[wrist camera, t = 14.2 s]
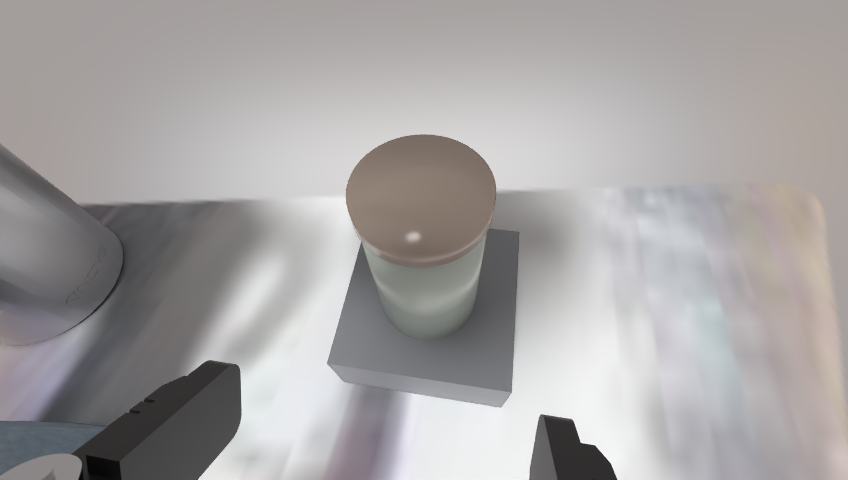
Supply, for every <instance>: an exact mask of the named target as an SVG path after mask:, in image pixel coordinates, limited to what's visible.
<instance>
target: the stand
mask: <svg viewBox="0 0 848 480" xmlns="http://www.w3.org/2000/svg"><path fill="white" fill-rule="evenodd" d="M518 247H519V232H513V231H504V230H496V229H488V231H487V234H486V240H485V246H484V252H483V258H482V264H481V270H480V275H479V281H478V287H477V293H476V299H475V305H474V309H473V312H472V314H471V316H470V318H469V319H468V321H467V322H466V323H465V324H464V325H463V327H461V328H460V329H459V330H458V331H456V332H455V333H453V334H452V335H449V336H447V337H444V338H441V339H436V340H420V339H415V338H412V337H409V336H407V335H405V334H403V333H402V332H400V331H399V330H397V329H396V328H395V327H394V326H393V325H392V323H391V322H390V321H389V319H388V318H387V316H386V314H385V311H384V309H383V305H382V302H381V299H380V296H379V293H378V290H377V287H376V284H375V281H374V278H373V275H372V272H371V269H370V266H369V263H368V260H367V257H366V254H365V251H364V248H363V245H362V242H361V245H360V249H359V252H358V256H357V259H356V263H355V266H354V270H353V274H352V277H351V281H350V284H349V288H348V291H347V295H346V298H345V302H344V305H343V309H342V312H341V316H340V319H339V323H338V327H337V330H336V334H335V337H334V341H333V344H332V348H331V351H330V355H329V358H328V362H327V364H328V365H329V366H330V367H331V368H332V369H333V371H334V372H335V373H336V374H337V375H338V376H339V377H340V378H341V379H342V380H343V381H344V382H348V383H354V384H360V385H366V386H372V387H378V388H385V389H391V390H397V391H403V392H409V393H415V394H421V395H428V396H434V397H440V398H446V399H452V400H458V401H464V402H471V403H477V404H483V405H489V406H495V407H502V406H503V404H504V403H505V401H506V400H507V398H508V397H509V396H510V394H511V393H512V373H513V352H514V331H515V310H516V289H517V268H518Z"/></svg>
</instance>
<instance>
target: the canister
mask: <svg viewBox="0 0 848 480" xmlns="http://www.w3.org/2000/svg"><path fill="white" fill-rule="evenodd" d="M495 199H496V185H495V180H494V177H493V174H492V171H491V170H490V168H489V166H488V164H487V163H486V162H485V160H484V159H483V158H482V157H481V156H480V155H479V154H478V153H477V152H475V151H474V150H473V149H471V148H470V147H468V146H467V145H465V144H463V143H461V142H458V141H456V140H453V139H450V138H447V137H442V136H436V135H411V136H405V137H401V138H397V139H394V140H391V141H388V142H386V143H384V144H382V145H380V146H378V147H377V148H375V149H373V150H372V151H371V152H369V153H368V154H367V155H366V156H365V157H363V158H362V159H361V160H360V162H359V163H358V164H357V165H356V167H355V168H354V170H353V172H352V174H351V176H350V178H349V180H348V184H347V188H346V204H347V208H348V212H349V215H350V217H351V220H352V223H353V226H354V229H355V231H356V233H357V235H358V237H359V239H360V240H361V242H362V245H363V248H364V251H365V254H366V257H367V260H368V263H369V266H370V269H371V272H372V275H373V278H374V281H375V284H376V287H377V290H378V293H379V296H380V299H381V302H382V305H383V309H384V311H385V314H386V316H387V318H388V319H389V321H390V322H391V323H392V325H393V326H394V327H395V328H396V329H397V330H399V331H400V332H402V333H403V334H405V335H407V336H409V337H412V338H415V339H420V340H436V339H441V338H444V337H447V336H449V335H452V334H453V333H455V332H456V331H458V330H459V329H460V328H461V327H463V325H464V324H465V323H466V322H467V321H468V319H469V318H470V316H471V314H472V312H473V309H474V305H475V299H476V293H477V287H478V281H479V275H480V270H481V264H482V258H483V252H484V246H485V240H486V234H487V231H488V229H489V227H490V224H491V221H492V216H493V210H494V205H495Z"/></svg>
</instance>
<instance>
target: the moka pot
mask: <svg viewBox="0 0 848 480" xmlns="http://www.w3.org/2000/svg"><path fill="white" fill-rule="evenodd" d="M105 428H106V426H95V425H85V424H78V423H68V422H32V421H0V476H1V475H2V474H4V473H5V472H7V471H9V470H10V469H12V468H14V467H16V466H18V465H20V464H22V463H25V462H27V461H29V460H32V459H35V458H38V457H42V456H46V455H51V454H72V453H73V452H74V451H76V450H77V449H78V448H80V447H81V446H82V445H84V444H85V443H86V442H88V441H89V440H90V439H92V438H93V437H94V436H96V435H97V434H98V433H100V432H101V431H102V430H104V429H105Z"/></svg>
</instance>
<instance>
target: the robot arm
mask: <svg viewBox="0 0 848 480" xmlns="http://www.w3.org/2000/svg"><path fill="white" fill-rule="evenodd" d="M122 264H123V249H122V246H121V242H120V240H119V239H118V237H117V236H116V235H115V233H113V232H112V231H111V230H110V229H108V228H107V227H106V226H104V225H103V224H102V223H101V222H99V221H98V220H97V219H96V218H94V217H93V216H92V215H90V214H89V213H88V212H87V211H85V210H84V209H83V208H82V207H80V206H79V205H78V204H76V203H75V202H74V201H73V200H72V199H71V198H69V197H68V196H67V195H66V194H64V193H63V192H62V191H60V190H59V189H58V188H56V187H55V186H54V185H53V184H51V183H50V182H49V181H48V180H46V179H45V178H44V177H42V176H41V175H40V174H39V173H37V172H36V171H35V170H34V169H32V168H31V167H30V166H28V165H27V164H26V163H25V162H23V161H22V160H21V159H20V158H18V157H17V156H16V155H14V154H13V153H12V152H10V151H9V150H8V149H7V148H5V147H4V146H3V145H2V144H0V344H5V345H11V346H17V345H29V344H33V343H38V342H42V341H45V340H48V339H50V338H52V337H55V336H57V335H60V334H62V333H63V332H65V331H67V330H68V329H70V328H72V327H74V326H75V325H77V324H78V323H80V322H81V321H82V320H83V319H85V318H86V317H87V316H89V315H90V314H91V313H92V312H93V311H94V310H95V309H96V308H97V307H98V306H99V305H100V304H101V303H102V302H103V301H104V299H105V298H106V297H107V295H108V294H109V293H110V291H111V290H112V288H113V287H114V285H115V283H116V281H117V279H118V277H119V275H120V271H121V268H122ZM240 420H241V380H240V369H239V367H238V365H236V364H230V363H224V362H218V361H212V360H209V361H206V362H204V363H203V364H202V365H200V366H199V367H198V368H197V369H195V370H194V371H193V372H191V373H190V374H189V375H188V376H183V377H181V378H178V379H176V380H174V381H172V382H169V383H167V384H165V385H163V386H161V387H160V388H159V389H157V390H156V391H155V392H153V393H152V394H151V395H149V396H148V397H147V398H145V400H144V402H142V401H141V402H140V403H138V404H137V405H136V406H134V407H133V408H132V409H130V412H129V413H125V414H124V415H122V416H121V417H120V418H118V419H117V420H116V421H114V422H113V423H112V424H110V425H109V426H108V427H106V428H105V429H104V430H102V431H101V432H100V433H98V434H97V435H96V436H94V437H93V438H92V439H90V440H89V441H88V442H86V443H85V444H84V445H82V446H81V447H80V448H78V449H77V450H76V451H74V452H73V453H72V454H51V455H46V456H42V457H38V458H35V459H32V460H29V461H27V462H25V463H22V464H20V465H18V466H16V467H14V468H12V469H10V470H9V471H7V472H5V473H4V474H2V475H1V476H0V480H198V479H199V477H200V476H201V475H202V474H203V473H204V472H205V470H206V469H207V468H208V467H209V466H210V465H211V463H212V462H213V461H214V460H215V459H216V458H217V456H218V455H219V454H220V453H221V452H222V451H223V449H224V448H225V447H226V446H227V445H228V443H229V442H230V441H231V440H232V439H233V437H234V436H235V434H236V432H237V430H238V427H239V424H240ZM529 480H617V478H616V475H615V473H614V470H613V468H612V465H611V463H610V462H609V461H608V460H607V459H606V458H605V456H604V455H603V454H602V453H601V452H600V451H599V450H598V448H597V447H596V446H595V445H589V444H583V443H580V439H579V436H578V433H577V430H576V427H575V424H574V422H573V420H572V419H567V418H561V417H555V416H549V415H542V414H541V415H540V417H539V420H538V426H537V431H536V437H535V443H534V449H533V454H532V460H531V466H530V478H529Z"/></svg>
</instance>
